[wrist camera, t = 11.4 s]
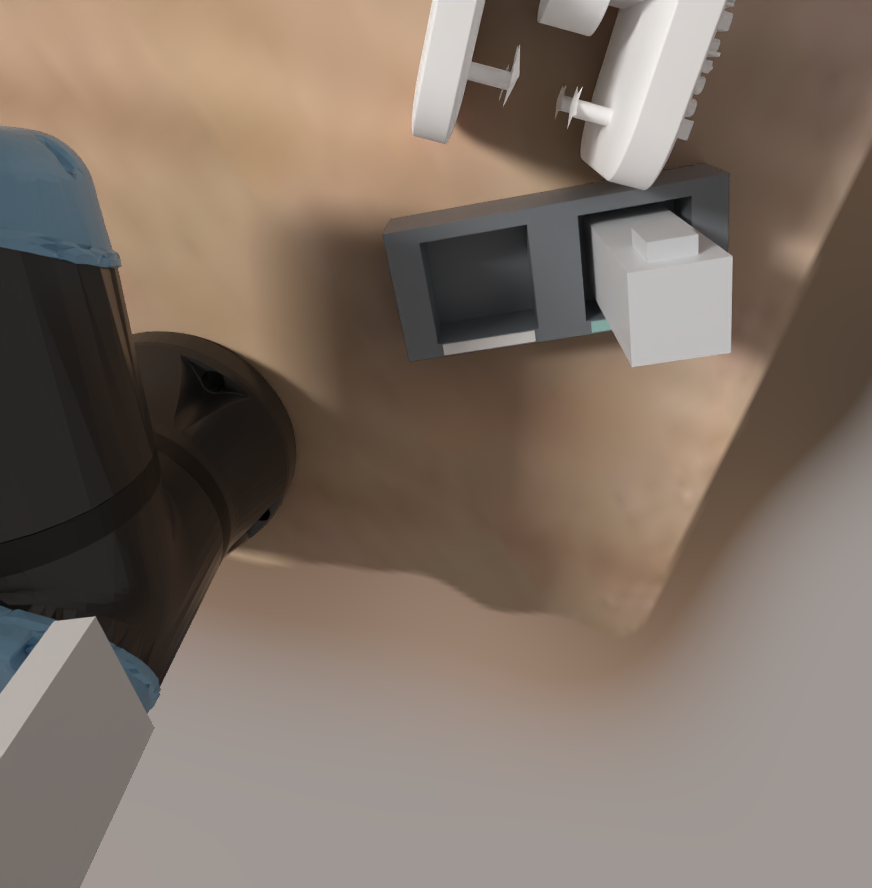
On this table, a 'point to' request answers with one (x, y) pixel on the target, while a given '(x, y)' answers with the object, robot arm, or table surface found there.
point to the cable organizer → (618, 86)
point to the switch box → (524, 261)
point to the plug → (659, 284)
